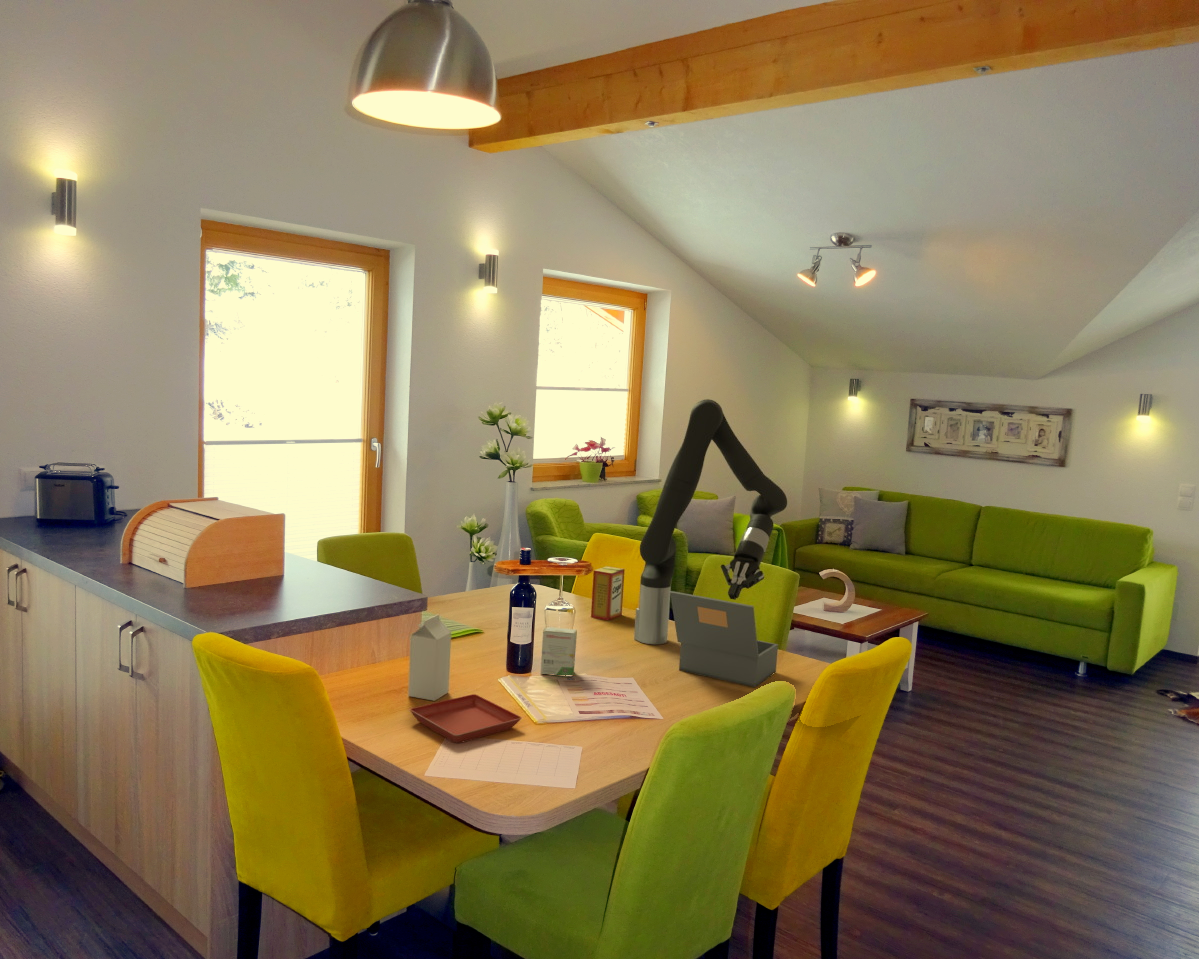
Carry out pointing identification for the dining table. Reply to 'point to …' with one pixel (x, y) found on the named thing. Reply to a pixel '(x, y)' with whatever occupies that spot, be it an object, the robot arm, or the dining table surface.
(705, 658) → the mailer box
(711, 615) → the mailer lid
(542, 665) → the ink box
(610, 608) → the baking soda box
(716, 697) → the dining table surface
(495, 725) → the plant saucer
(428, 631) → the milk carton
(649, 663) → the dining table surface
